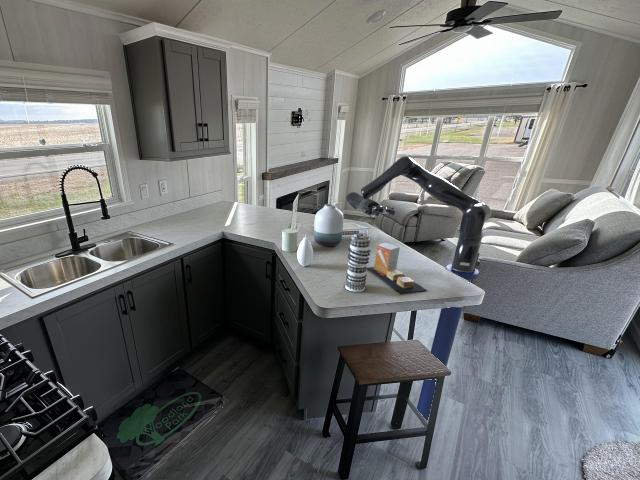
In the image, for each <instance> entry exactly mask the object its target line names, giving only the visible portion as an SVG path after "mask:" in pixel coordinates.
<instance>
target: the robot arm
mask: <svg viewBox="0 0 640 480" xmlns="http://www.w3.org/2000/svg"><path fill="white" fill-rule="evenodd" d="M400 176H403V177H404V178H407V179H409V180H411V181H412V182H414V183H416V184H417V185H418V186H419V187H420V188H421V189H422V190H423V191H424V192H426V193H427V194H428V195H430V196H431V197H432V198H434V199H435V200H437V201H439V202H441V203H444V204H447V205H450V206H451V207H455V208H457V209H458V210H460V211H462V212H463V213H462V215H461V219H460V225H459V234H458V240H457V242H456V243H457V244H456V247H455V250H454V251H455V252H454V256H453V260H452V263H451V264H452V266H451V268H452V269H453V270H455V271H457V272H461V273H472V272H473V271H475V269H477V267H479V266H480V264H481V260H480V259H479V257H480V252H479V251H480V247H481V244H482V240H483V237H484V232H483V230H484V229H483V228H484V223H485V222H486V221H488V220H489V219H490V218H491V217H492V209H491V208H490V206H489V205H487V204H486V203H484V202H482V201H480V200H478V199H476V198H474V197H472V196H470V195H468V194H467V193H466V192H464V191H463V190H461V189H459V188H458V187H457V186H455V185H453V184H452V183H450V182H449V181H448V180H446V179H445V178H443V177H441V176H439V175H437V174H434V173H432V172H429V171H428V170H426V168H423V167H422V166H421V165H420V164H419V163H417V162H416V161H415V160H414V159H413V158H412V157H410V156H401V157H399V158H398V159H397V160H395V161H394V162H393V163H392V164H391V165H390V166H389V167H388V168H387V169H386V170H385V171H383V172H382V173H381V174H380V175H379V176H377V177H376V178H375V179H373V180H372V181H370V182H369V183H367V184H366V185H365V186H362V187H361V188H360V193H361V195H360V194H359V193H358V192H356V191H351V192H348V193H347V194H346V196H345V201H346V203H347V204H348V205H349V206H350V207H351V208H352V209H354V210H357V209H358V210H360V211H362V213H363V214H365V215H368V216H375V217H379V216H380V214H384V215H385V214H389V215H392V216H395V214H396V210H394V209H395V208H394V207H392V206H389V205H385V206H383V205H380V203H379V202H378V201H376V200H374V199H370V198H372V197H373V196H375V195H376V194H378V193H380V191H382V190H383V189H384V187H386V186H387V184H389V183H390V182H391V181H393V180H394V179H396V178H398V177H400Z"/></svg>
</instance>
